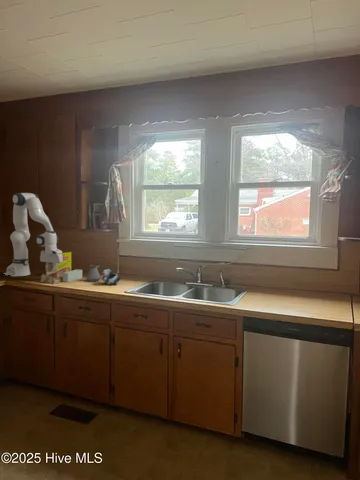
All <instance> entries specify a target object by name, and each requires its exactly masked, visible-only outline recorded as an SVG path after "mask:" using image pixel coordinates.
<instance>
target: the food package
mask: <svg viewBox="0 0 360 480" xmlns="http://www.w3.org/2000/svg"><path fill="white" fill-rule="evenodd" d="M61 254H62V257H63V262H62V263H57V271H63V273H64V272H68V271H72V251H69V252H62V253H61Z"/></svg>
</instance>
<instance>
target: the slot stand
mask: <svg viewBox="0 0 360 480" xmlns="http://www.w3.org/2000/svg"><path fill="white" fill-rule="evenodd" d="M80 279H83V269H73V270H72V269H71V271H68V272H64V273H63V281H62V282H63V283H70V282H73V281H77V280H80Z"/></svg>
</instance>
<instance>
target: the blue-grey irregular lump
mask: <svg viewBox="0 0 360 480" xmlns="http://www.w3.org/2000/svg"><path fill="white" fill-rule="evenodd" d="M99 274H100V276H101V278H100V279H101V280H102V281H103V282H104V283H105V284H107V285H109V286H116V285H117V284H119V282H120V280H121V279H122V276H120V275H119V274H118V273H115V272H113V271H112V270H111V269H110V268H107V269H106V268H103V270H102V272H100V273H99Z"/></svg>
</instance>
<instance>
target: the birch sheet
mask: <svg viewBox="0 0 360 480" xmlns="http://www.w3.org/2000/svg"><path fill="white" fill-rule="evenodd" d="M52 266H53V263H49V264H46V263H45V274H46V275H47V274H51V273H53V272H56V271H57V263H56V265H55V268H52Z"/></svg>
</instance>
